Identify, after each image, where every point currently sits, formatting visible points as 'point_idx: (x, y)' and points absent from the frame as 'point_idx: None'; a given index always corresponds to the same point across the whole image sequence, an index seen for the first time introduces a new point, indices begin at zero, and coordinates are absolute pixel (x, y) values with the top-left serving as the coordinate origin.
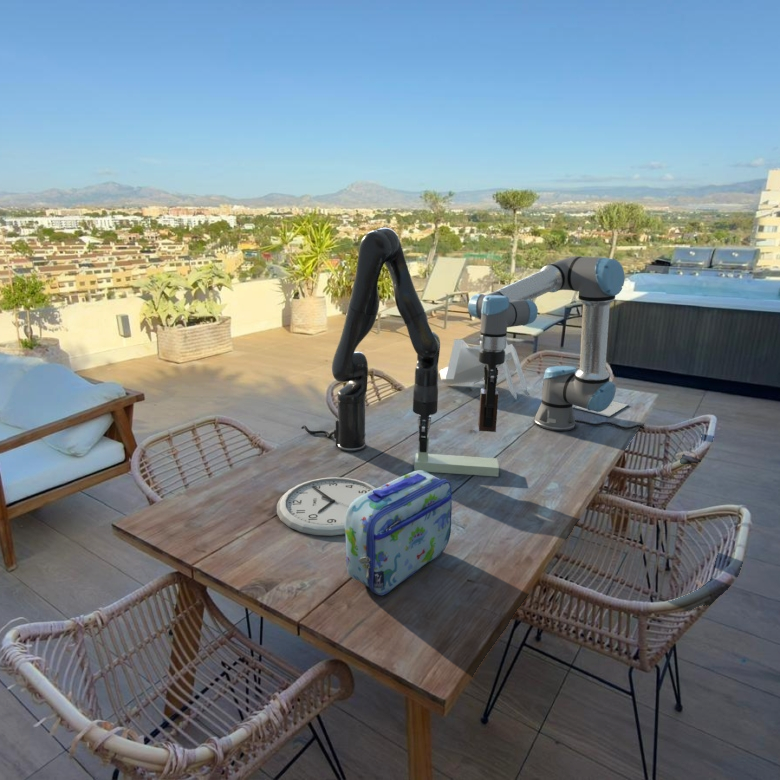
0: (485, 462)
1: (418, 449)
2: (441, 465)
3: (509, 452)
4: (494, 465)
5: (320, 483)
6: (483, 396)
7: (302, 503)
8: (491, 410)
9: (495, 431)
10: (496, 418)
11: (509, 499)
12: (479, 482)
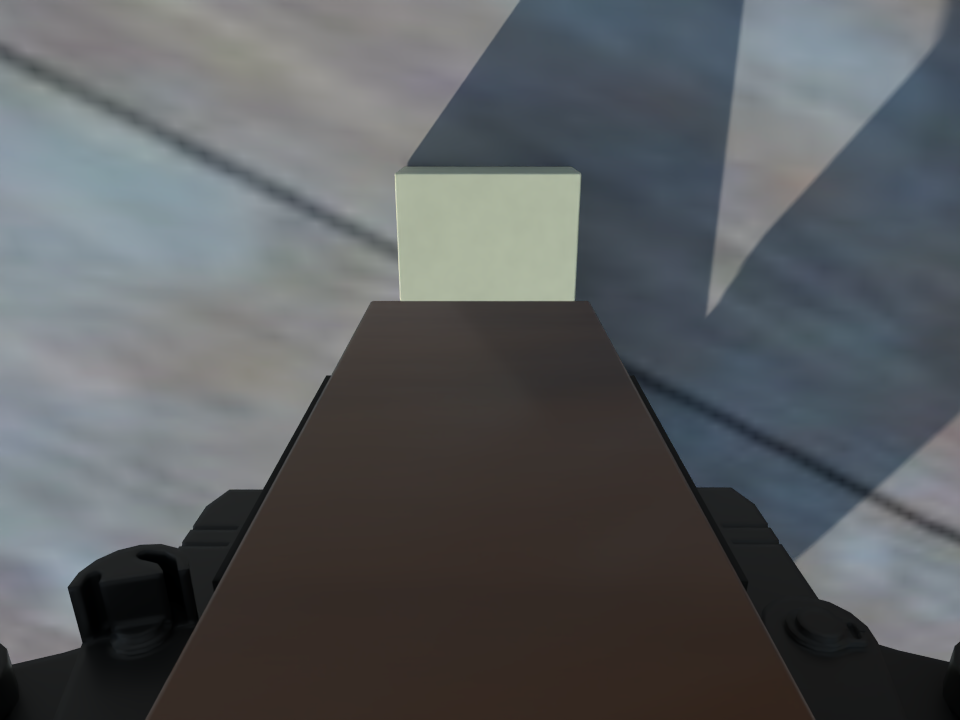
0: (494, 276)
1: None
2: None
3: (85, 27)
4: (542, 208)
5: None
6: None
7: None
8: (809, 590)
9: (588, 305)
10: (627, 375)
11: (917, 114)
12: (670, 304)
